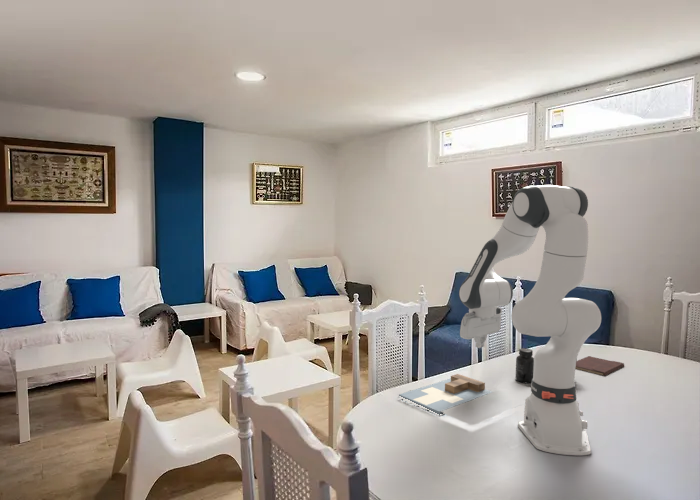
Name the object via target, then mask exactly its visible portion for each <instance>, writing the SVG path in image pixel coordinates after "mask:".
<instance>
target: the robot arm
mask: <svg viewBox="0 0 700 500" xmlns="http://www.w3.org/2000/svg"><path fill="white" fill-rule="evenodd" d="M588 207H589V200H588V196H587V194H586V193H585V191H584V190H582V189H580V188H577V187H575V186H561V185H553V184H544V185H543V184H542V185H529V186H528V185H527V186H525V187H524V186H523V187H522V188H519V190H517V191H516V192H515V194H514V196H513V199H512V202H511V204H510V205H509V207H508V210H507V212H506V213H505V215H504V218H503V221H502V223H501V225H500V228H499V229H498V231H497V232H496V234H495V235H493V236H492V238H491V239H489V240H488V241H487V242H486V243H485V244H484V245H483V247H482V249H481V251H480V252H479V254H478V256H477V258H476V259H475V262H474V264H473V266H472V268H471V269H470V271H469V273H468V275H467V276H466V278H465V279H464V280H463V281H462V283H461V285H460V287H459V291H458V296H459V300H460V302H461V303H462V304H463V305H464V306H465V307H466V308H468V312H466V313H465V314H464V316H463V317H462V320H461V323H460V328H459V336H460V338H461V339H464V340H472V339H473V340H474V342H475V347H476V348H478V349H480V348H483V347H485V344H486V343H485V342H486V341H487V338H488V335H492V334H495V333H499V332H500V331H501V326H502V313H503V309H502V307H504V306H508V305H510V303H511V301H512V300H513V298H514V297H513V296H514V289H513V286H512V284H511V283H510V282H509V281H508V280H507V279H504V278H503V277H500V276H499V275H498V274H497V273H496V270H495V269H494V266H495V265H496V264H498V263H500V262H502V261H504V260H506V259H510V258H512V257H516V256H519V255H523V254H524V253H526V252H527V251H529V249H530V248H532V246H533V244H534V242H535V241H536V238H537V235H538V233H539V230H540V227H542V229H543V230H544V231H545V241H544V242H545V243H544V248H543V254H542V261H541V267H540V271H539V275H538V278H537V280H536V282H535V284H534V286H533V287H532V289H530V291H529V292H528V294H526V296H524V297H523V298H521V299H520V300H519V301H517V302H516V303H515V305H513V308H512V310H511V316H510V317H511V323H512V325H513V327H514V329H516V331H517V332H518V333H519V334H521V335H526V336H531V337H536V338H537V337H539V338H540V337H541V338H542V337H550V339H549V340H548V341H547V343H546V344H545V345H544V346H542V347H540V348H539V349H538V350H537V351H535V354H534V355H533V358H534V371H533V379H532V382H531V383H530V387H531V388H530V392H531V393H530V395H529V396H527V397H526V398H525V399H524V400H525V403H524V411H523V413H524V414H523V420H521V421H518V423H517V427H518V428H519V430H521V432H522V433H523V435H525V437H526V438H527V439H528V440H529V442H530V443H531V444H532V445H533V447H535V449H537V450H540V451H543V452H546V453H551V454H557V455H565V456H587V455H588V456H589V455H591V454H592V449H591V444H590V441H589V436H588V432H587V430H588V421H587V420H582V419H581V417H583V416H584V412H583V411H582V410H580V407H579V406H580V402H579V401H577V387H576V384H575V378H576V376H575V375H576V369H575V367H576V360H577V361H578V356H579V352H580V350H582V347H583V345H584V344H585V342H586V341H587V339H588V338H589V337H590V336H591V335H593V334H594V333H595V332H596V331H597V330H599V328H600V326H601V323H602V313H601V309H600V308H599V306H598V305H597V303H596V302H594V301H592V300H588V299H585V298H578V297H566V296H567V295H568V293H569V292H571V291H572V290H574V289H575V288H577V287H579V286H580V285H581V284H582V282H583V280H584V277H585V270H586V264H587V263H586V262H587V256H588V255H587V254H588V249H589V248H588V247H589V228H588V227H589V226H588V222H587V220H586V218H585V217H584V216H585V215H586V213H587V212H588Z"/></svg>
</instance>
